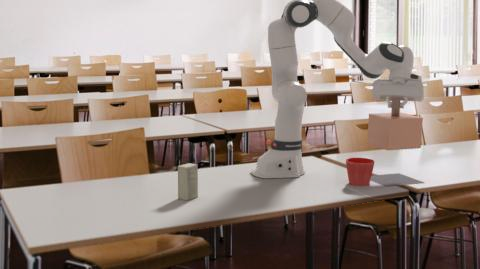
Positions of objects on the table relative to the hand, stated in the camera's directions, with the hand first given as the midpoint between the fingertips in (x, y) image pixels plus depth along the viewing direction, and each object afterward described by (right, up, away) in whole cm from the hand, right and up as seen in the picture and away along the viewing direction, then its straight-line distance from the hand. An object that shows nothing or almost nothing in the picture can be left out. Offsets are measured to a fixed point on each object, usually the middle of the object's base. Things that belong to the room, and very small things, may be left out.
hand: (395, 107), depth 267 cm
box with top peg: (0, -15, +3) cm, 16 cm away
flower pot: (-14, -31, -1) cm, 34 cm away
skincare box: (-80, -34, -23) cm, 90 cm away
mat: (0, -29, +6) cm, 30 cm away
